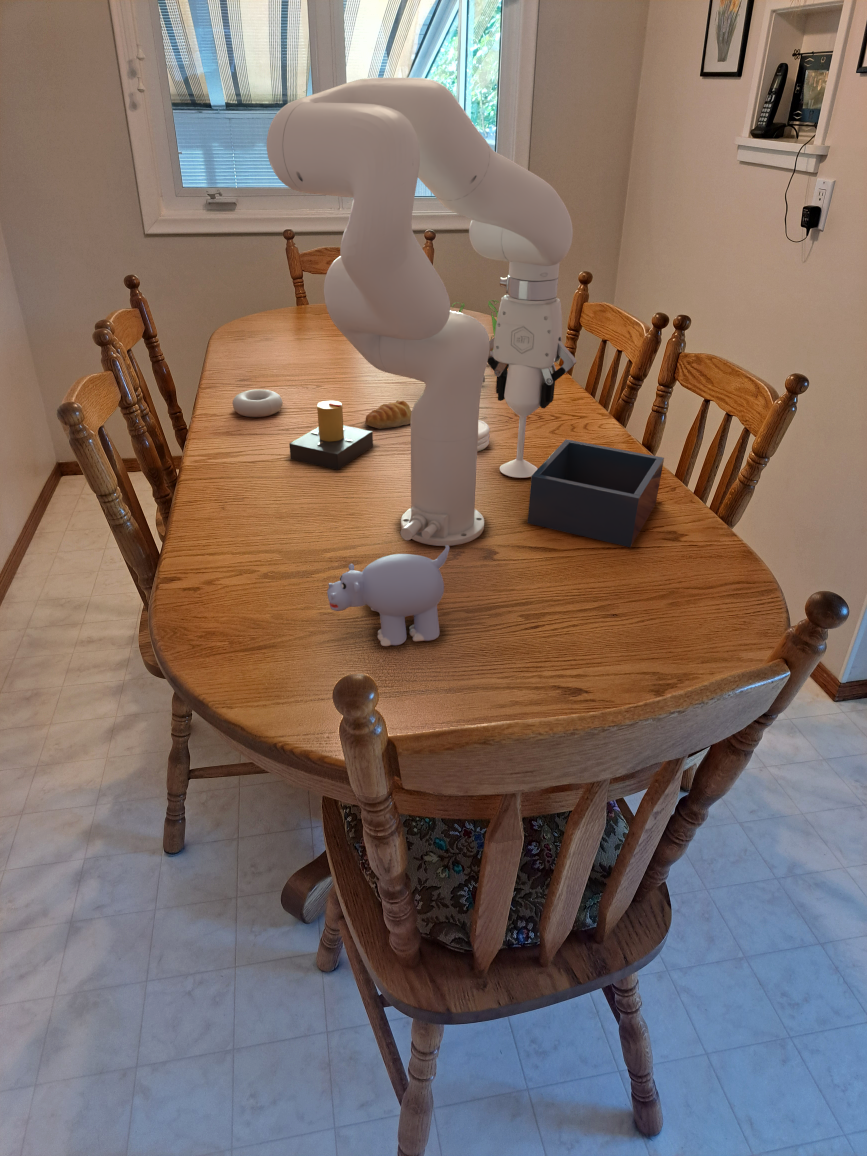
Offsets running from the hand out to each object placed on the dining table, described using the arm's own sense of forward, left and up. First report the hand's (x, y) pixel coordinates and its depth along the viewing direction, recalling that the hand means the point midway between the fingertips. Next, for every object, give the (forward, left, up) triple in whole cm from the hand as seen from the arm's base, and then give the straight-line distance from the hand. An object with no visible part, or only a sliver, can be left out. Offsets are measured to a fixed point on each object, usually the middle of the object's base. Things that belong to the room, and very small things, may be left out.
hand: (524, 401), depth 128 cm
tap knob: (-8, +33, -10) cm, 35 cm away
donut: (+3, +58, -13) cm, 59 cm away
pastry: (+10, +31, -13) cm, 35 cm away
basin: (-9, -16, -13) cm, 22 cm away
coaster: (+7, +14, -13) cm, 20 cm away
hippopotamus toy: (-49, -2, -13) cm, 51 cm away
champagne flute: (0, 0, -12) cm, 12 cm away
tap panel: (-8, +33, -13) cm, 36 cm away
